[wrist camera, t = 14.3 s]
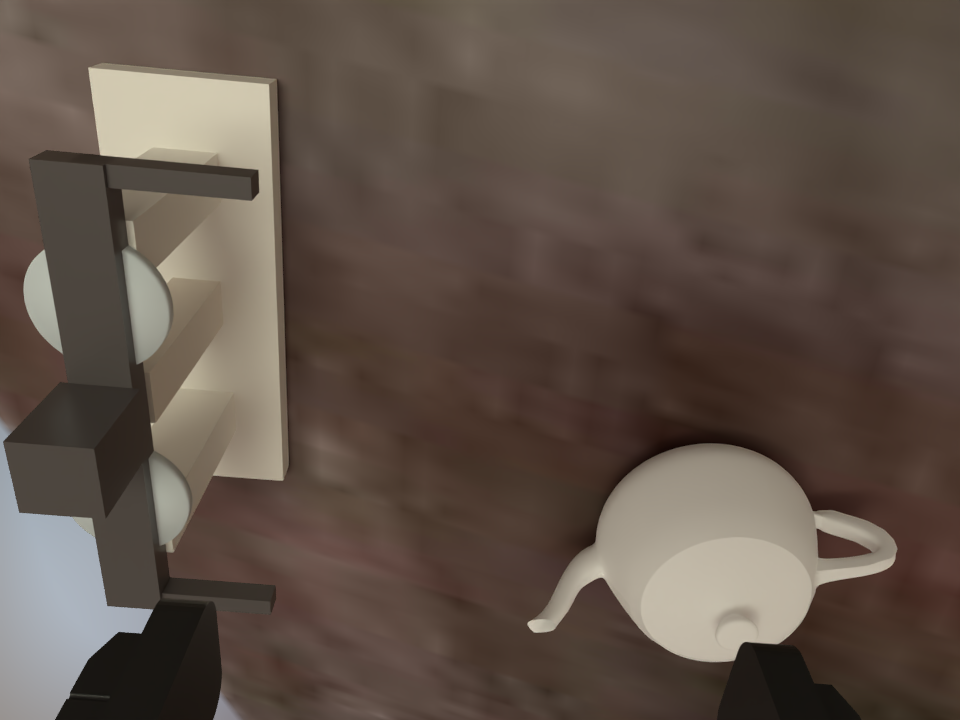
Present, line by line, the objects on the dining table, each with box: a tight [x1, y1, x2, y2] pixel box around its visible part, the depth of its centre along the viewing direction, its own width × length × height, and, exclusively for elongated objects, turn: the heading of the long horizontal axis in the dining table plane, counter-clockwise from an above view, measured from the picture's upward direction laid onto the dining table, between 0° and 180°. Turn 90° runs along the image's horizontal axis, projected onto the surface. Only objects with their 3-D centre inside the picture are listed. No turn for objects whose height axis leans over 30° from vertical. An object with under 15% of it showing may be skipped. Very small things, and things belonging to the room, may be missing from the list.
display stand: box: [88, 63, 289, 552], centre depth 37 cm, size 22×8×12 cm, turn 175°
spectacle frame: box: [3, 150, 276, 615], centre depth 30 cm, size 20×9×5 cm, turn 175°
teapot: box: [528, 443, 897, 662], centre depth 44 cm, size 20×12×10 cm, turn 101°
